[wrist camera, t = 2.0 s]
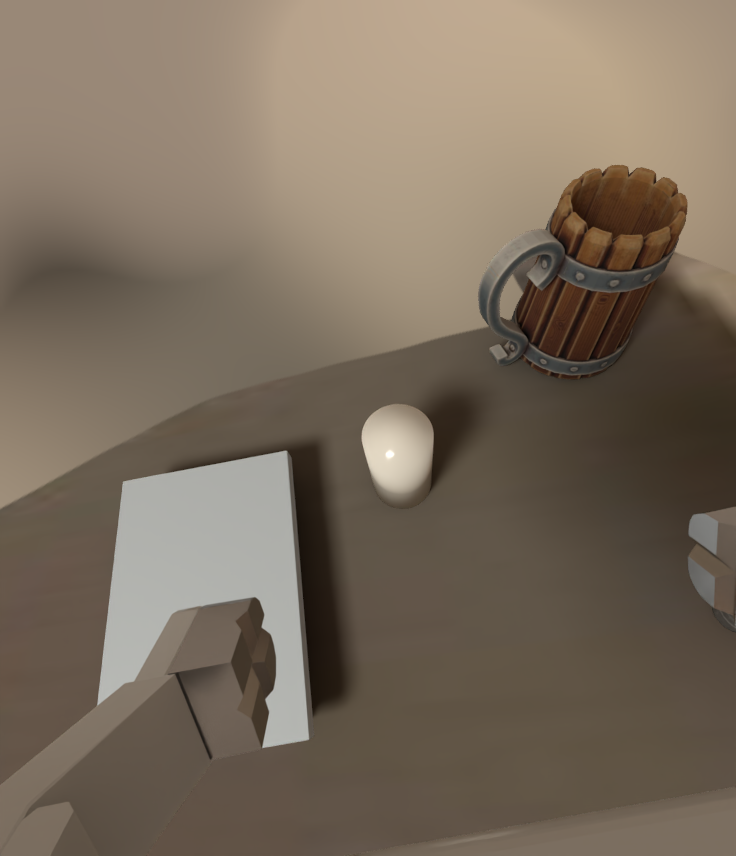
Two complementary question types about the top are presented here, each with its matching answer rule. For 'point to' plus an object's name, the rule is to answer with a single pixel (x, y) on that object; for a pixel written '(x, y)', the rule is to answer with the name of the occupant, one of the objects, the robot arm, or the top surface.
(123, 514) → the shelf
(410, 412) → the white rounded cylinder
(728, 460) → the top surface
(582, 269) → the mug
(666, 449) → the top surface
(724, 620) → the flask
